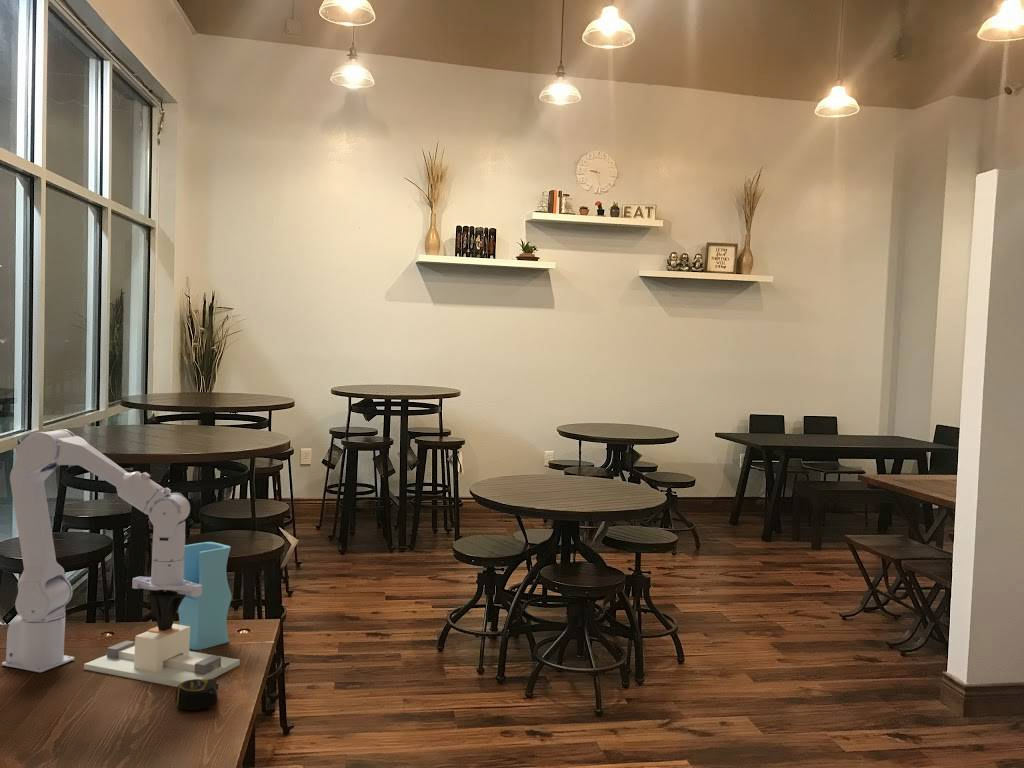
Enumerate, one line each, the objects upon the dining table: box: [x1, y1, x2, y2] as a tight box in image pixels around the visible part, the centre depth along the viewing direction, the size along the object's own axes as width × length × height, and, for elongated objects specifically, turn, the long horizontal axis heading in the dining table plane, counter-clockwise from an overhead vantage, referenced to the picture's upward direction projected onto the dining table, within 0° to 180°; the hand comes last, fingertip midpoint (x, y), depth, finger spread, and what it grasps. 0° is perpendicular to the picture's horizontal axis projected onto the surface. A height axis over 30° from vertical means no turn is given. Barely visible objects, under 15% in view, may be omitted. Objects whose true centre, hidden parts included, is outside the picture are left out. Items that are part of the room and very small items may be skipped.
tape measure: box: [174, 678, 219, 711], centre depth 141 cm, size 7×7×4 cm
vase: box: [177, 541, 233, 651], centre depth 173 cm, size 8×8×20 cm
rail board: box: [83, 640, 241, 688], centre depth 158 cm, size 24×14×3 cm, turn 73°
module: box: [134, 623, 190, 672], centre depth 157 cm, size 5×9×6 cm, turn 163°
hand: (165, 629), depth 157 cm, fingers closed, pressing on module
